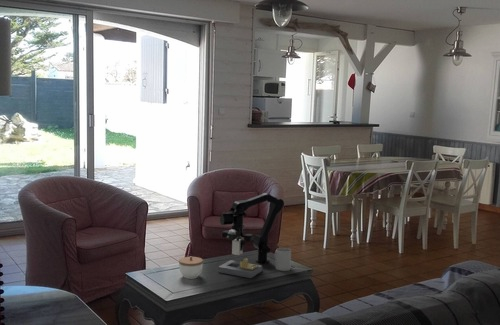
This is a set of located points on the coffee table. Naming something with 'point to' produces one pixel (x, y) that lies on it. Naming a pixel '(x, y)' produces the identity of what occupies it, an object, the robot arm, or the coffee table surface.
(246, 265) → the tan piece
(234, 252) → the plug
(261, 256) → the robot arm
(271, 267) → the coffee table surface
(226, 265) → the socket block
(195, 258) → the lidded bowl
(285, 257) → the mug
